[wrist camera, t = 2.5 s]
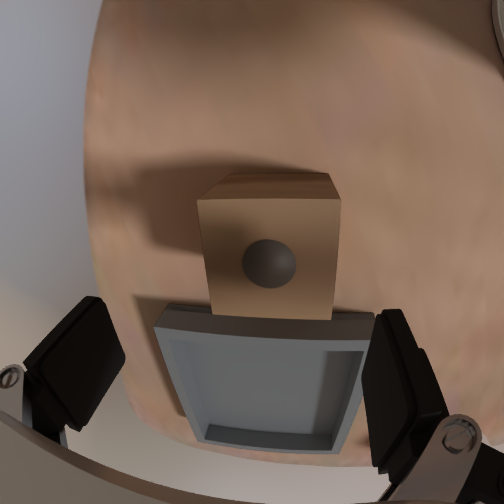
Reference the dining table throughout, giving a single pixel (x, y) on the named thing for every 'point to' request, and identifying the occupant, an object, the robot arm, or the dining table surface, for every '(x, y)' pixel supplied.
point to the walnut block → (271, 245)
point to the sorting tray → (266, 377)
